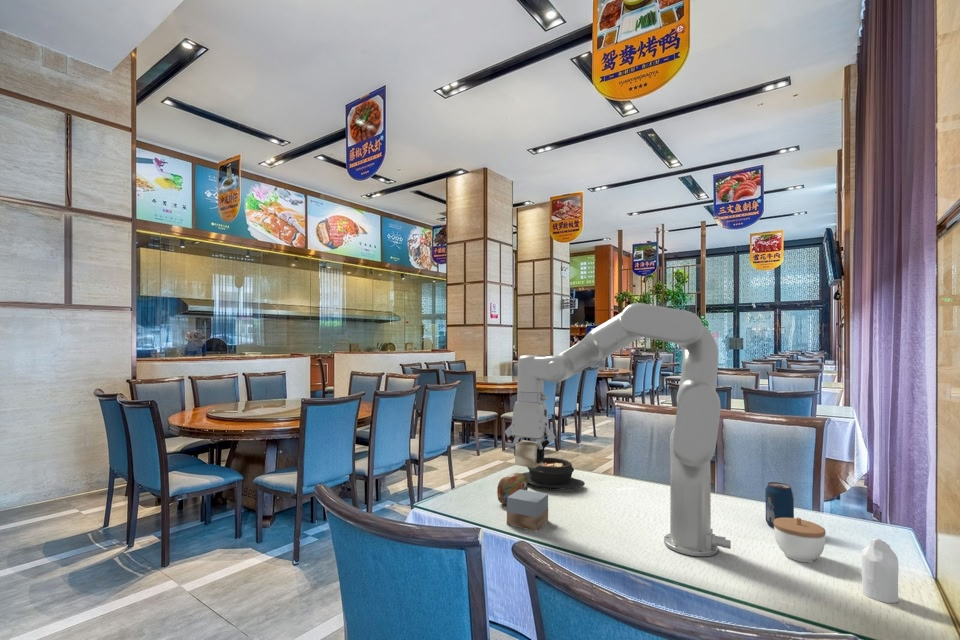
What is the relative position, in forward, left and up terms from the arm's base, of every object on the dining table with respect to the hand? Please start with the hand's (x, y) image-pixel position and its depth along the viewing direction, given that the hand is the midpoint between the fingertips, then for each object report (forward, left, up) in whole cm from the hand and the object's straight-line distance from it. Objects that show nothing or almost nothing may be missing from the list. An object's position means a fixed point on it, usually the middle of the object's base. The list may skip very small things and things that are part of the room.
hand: (528, 460), depth 138 cm
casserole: (+8, -39, -18) cm, 44 cm away
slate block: (0, 0, -14) cm, 14 cm away
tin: (+12, -15, -18) cm, 26 cm away
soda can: (-63, -36, -18) cm, 75 cm away
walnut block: (0, 0, -18) cm, 18 cm away
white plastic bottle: (-79, -1, -18) cm, 81 cm away
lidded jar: (-66, -15, -18) cm, 70 cm away
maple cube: (0, 0, -1) cm, 1 cm away
